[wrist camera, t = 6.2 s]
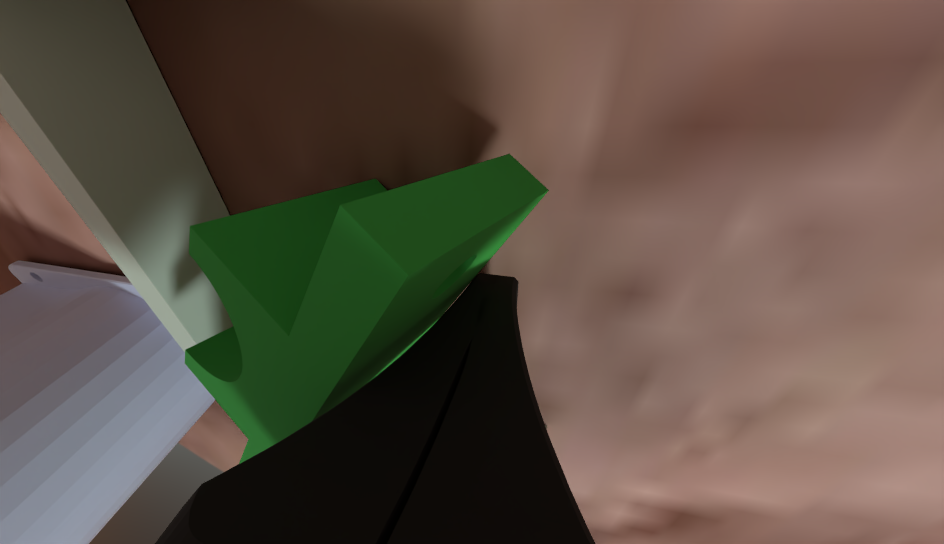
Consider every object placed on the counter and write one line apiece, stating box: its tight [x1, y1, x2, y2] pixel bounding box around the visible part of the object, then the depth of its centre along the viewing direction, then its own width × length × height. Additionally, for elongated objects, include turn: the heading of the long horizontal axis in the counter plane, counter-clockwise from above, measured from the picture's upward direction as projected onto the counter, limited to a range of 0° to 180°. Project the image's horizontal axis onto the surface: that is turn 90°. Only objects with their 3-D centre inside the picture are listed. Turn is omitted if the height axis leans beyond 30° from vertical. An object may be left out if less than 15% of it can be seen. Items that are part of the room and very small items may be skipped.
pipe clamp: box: [185, 154, 549, 464], centre depth 9 cm, size 11×4×5 cm, turn 149°
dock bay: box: [0, 0, 547, 428], centre depth 10 cm, size 12×16×3 cm
